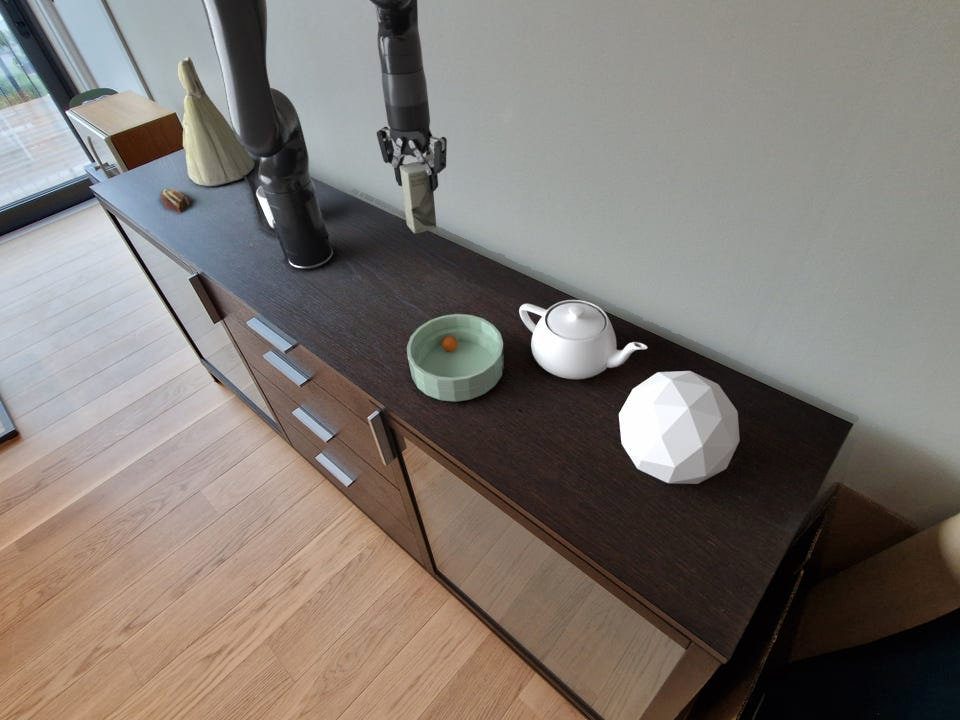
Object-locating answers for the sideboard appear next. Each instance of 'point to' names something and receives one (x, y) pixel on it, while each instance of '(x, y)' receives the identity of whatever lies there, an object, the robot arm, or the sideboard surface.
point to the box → (417, 198)
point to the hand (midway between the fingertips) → (417, 187)
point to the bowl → (456, 357)
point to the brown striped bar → (175, 200)
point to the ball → (449, 344)
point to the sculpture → (209, 136)
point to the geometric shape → (679, 427)
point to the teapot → (575, 339)
